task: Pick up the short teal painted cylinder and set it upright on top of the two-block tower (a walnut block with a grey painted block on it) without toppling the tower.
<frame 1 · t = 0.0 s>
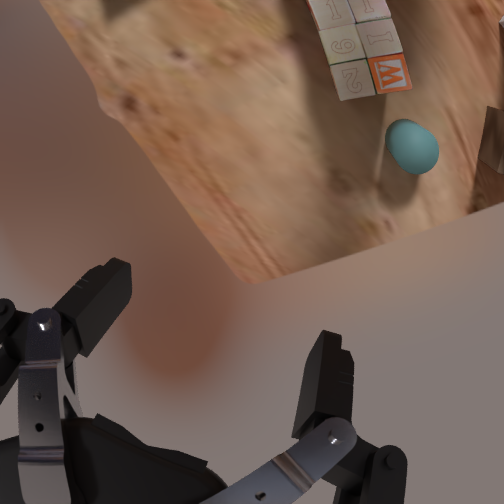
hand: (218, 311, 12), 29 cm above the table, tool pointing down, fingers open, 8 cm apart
teal cylinder: (405, 139, 33), on the table
stack of blocks: (335, 6, 26), on the table
walnut block: (503, 139, 28), on the table, touching grey block
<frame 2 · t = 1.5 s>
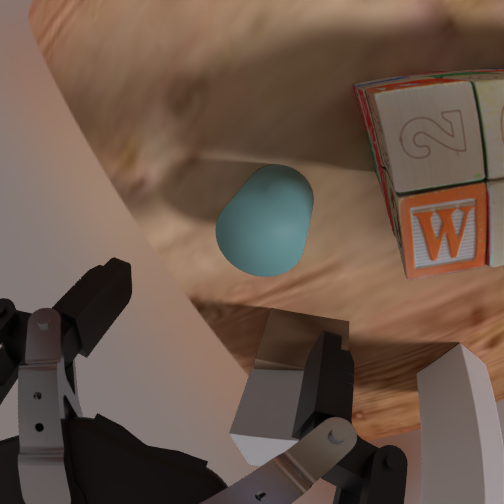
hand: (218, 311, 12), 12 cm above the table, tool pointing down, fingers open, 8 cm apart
teal cylinder: (278, 198, 22), on the table
stack of blocks: (501, 109, 15), on the table
grey block: (293, 392, 24), point 6 cm above the table, touching walnut block
walnut block: (304, 340, 29), on the table, touching grey block
milk: (451, 367, 27), on the table
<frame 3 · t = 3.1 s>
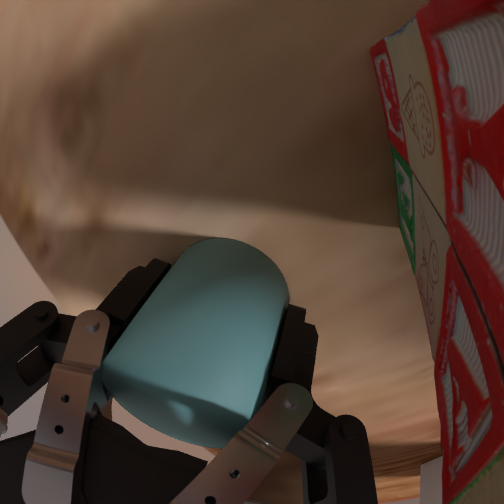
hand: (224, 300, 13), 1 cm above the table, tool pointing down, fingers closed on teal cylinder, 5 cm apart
teal cylinder: (229, 290, 13), on the table, touching gripper
walnut block: (281, 440, 20), on the table, touching grey block
milk: (463, 455, 18), on the table
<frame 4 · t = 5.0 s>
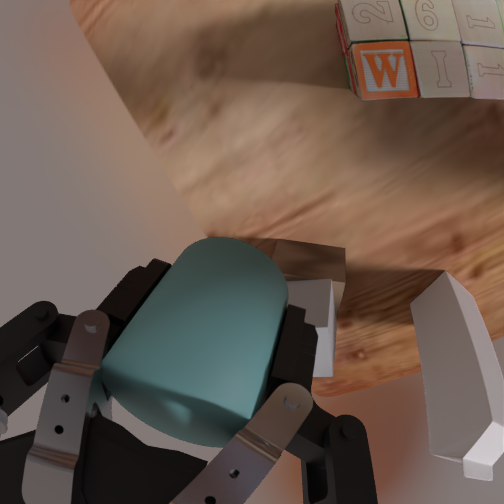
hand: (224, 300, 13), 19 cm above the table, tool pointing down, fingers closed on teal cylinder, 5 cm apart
teal cylinder: (229, 289, 13), point 19 cm above the table, touching gripper
stack of blocks: (454, 55, 19), on the table
grey block: (302, 306, 29), point 6 cm above the table, touching walnut block
walnut block: (308, 270, 34), on the table, touching grey block
milk: (441, 298, 32), on the table
when the fingers open (14 cm above the table, at t = 7.1 s): teal cylinder drops 1 cm, resting on grey block.
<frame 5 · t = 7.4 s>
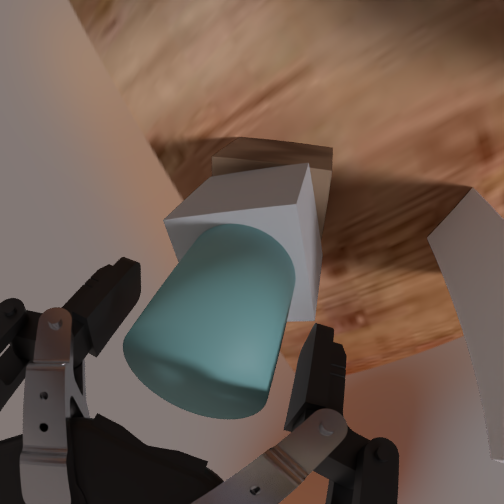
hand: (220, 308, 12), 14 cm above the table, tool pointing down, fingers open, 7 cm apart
teal cylinder: (240, 273, 14), point 12 cm above the table, touching grey block
grey block: (267, 216, 19), point 6 cm above the table, touching teal cylinder, walnut block
walnut block: (282, 184, 24), on the table, touching grey block
milk: (469, 232, 22), on the table
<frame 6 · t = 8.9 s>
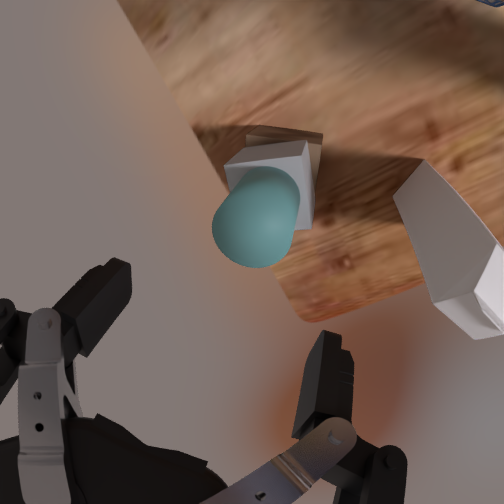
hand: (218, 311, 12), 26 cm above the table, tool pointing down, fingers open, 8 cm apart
teal cylinder: (268, 197, 24), point 12 cm above the table, touching grey block
grey block: (280, 173, 29), point 6 cm above the table, touching teal cylinder, walnut block
walnut block: (287, 158, 34), on the table, touching grey block
milk: (425, 193, 32), on the table
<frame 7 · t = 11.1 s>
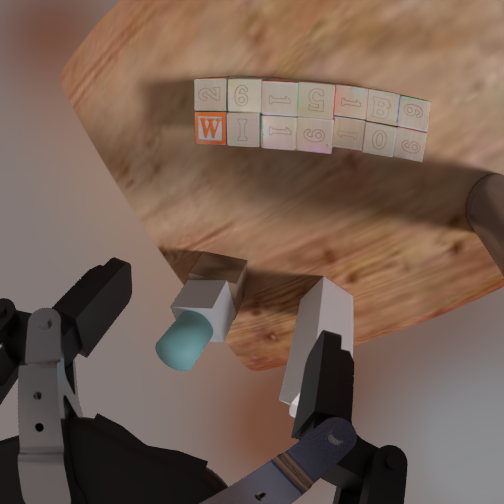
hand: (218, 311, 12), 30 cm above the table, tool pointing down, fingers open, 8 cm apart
teal cylinder: (195, 326, 40), point 12 cm above the table, tilted 8°, touching grey block
stack of blocks: (320, 105, 34), on the table
grey block: (212, 296, 46), point 6 cm above the table, touching teal cylinder
walnut block: (224, 273, 51), on the table
milk: (326, 296, 48), on the table
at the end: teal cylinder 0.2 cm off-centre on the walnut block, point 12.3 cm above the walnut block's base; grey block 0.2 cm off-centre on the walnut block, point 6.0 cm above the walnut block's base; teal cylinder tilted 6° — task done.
